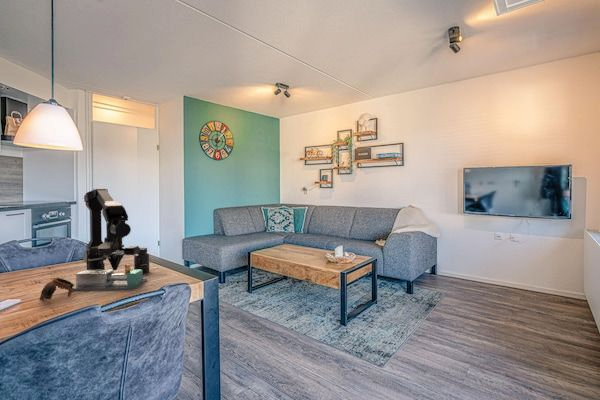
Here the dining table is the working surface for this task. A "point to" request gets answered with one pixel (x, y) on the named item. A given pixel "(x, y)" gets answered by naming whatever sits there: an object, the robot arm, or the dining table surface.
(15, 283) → the dining table surface
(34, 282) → the dining table surface
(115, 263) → the robot arm
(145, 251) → the supplement bottle
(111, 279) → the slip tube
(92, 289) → the tube rig
